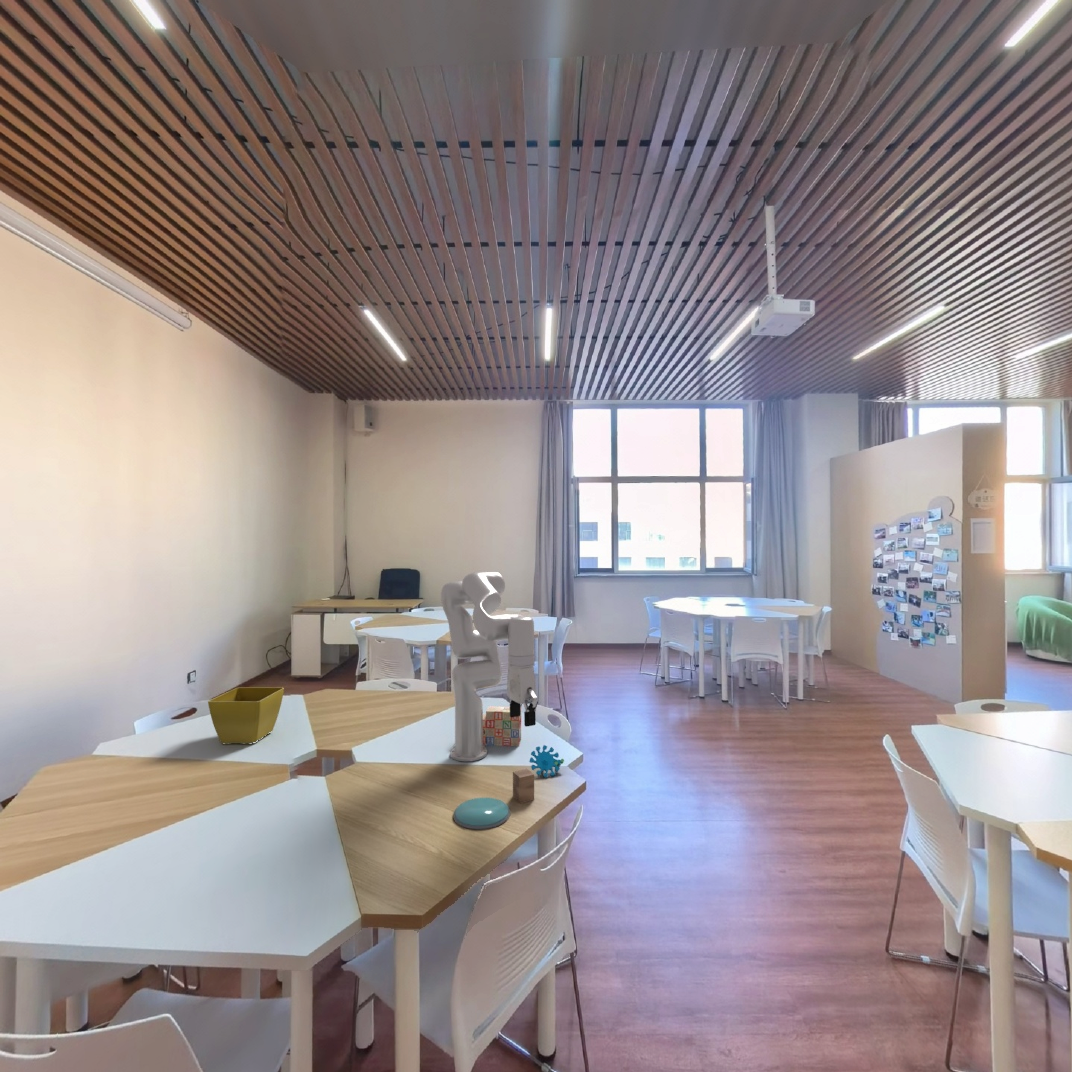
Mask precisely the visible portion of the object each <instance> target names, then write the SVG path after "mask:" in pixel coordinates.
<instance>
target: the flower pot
mask: <svg viewBox="0 0 1072 1072" xmlns="http://www.w3.org/2000/svg"><path fill="white" fill-rule="evenodd" d="M284 690H285V688H284V687H278V686H277V687H270V686H269V687H266V686H264V687H263V686H262V687H261V686H257V687H256V686H253V687H252V686H249V687H247V686H246V687H245V686H244V687H243V686H241V687H239V686H238V687H236V688H234V689H231V690H229V691H227V692H224V693H222V694H220V695H218V696H216V697H214V698H212V699H210V700H207V703H208V709H209V714H210V717H211V718H210V719H211V721H212V724H213V727H214V729H215V732H216V735H217V737H218V739H219V741H220V743H221V744H222V743H253V742H256V741H257V740H259V739H261V738H262V737H264V736H265V735H267V734H268V733H269V732H271V731H272V732H273V731H274V728H275V726H276V724H277V719H278V717H279V713H280V709H281V707H282V702H283V697H284V692H285V691H284ZM267 736H268V735H267ZM264 738H265V737H264Z"/></svg>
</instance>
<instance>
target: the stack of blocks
mask: <svg viewBox="0 0 1072 1072" xmlns="http://www.w3.org/2000/svg"><path fill="white" fill-rule="evenodd" d="M521 741H522V707H520V716H517V717H510V706H489V705H488V707H487V709H486V712H485V713H483V746H503V747H504V746H506V747H509V746H510V747H520V744H521Z"/></svg>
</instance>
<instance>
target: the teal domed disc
mask: <svg viewBox="0 0 1072 1072" xmlns="http://www.w3.org/2000/svg"><path fill="white" fill-rule="evenodd" d="M510 816H511V809H510V806H508V804H506V802H504V800H503V801H502V800H501V799H497V798H493V797H475V798H471V799H468V800H465V801H464V802H462V803H460V804H459V805H458V806H456V808H455V809H454V810H453V820H454V822H455V823H456V824H457V825H458V826H460V827H462V828H465V829H468V830H475V831H476V830H482V831H483V830H490V829H494V828H497V827H499V826H501V825H503V824H504V823H506V822H507V821H508V820H509V818H510Z"/></svg>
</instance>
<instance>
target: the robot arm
mask: <svg viewBox="0 0 1072 1072" xmlns="http://www.w3.org/2000/svg"><path fill="white" fill-rule="evenodd" d="M503 577H504V576H503V575H501V574H500V573H499V572H498V571H497V572H496V571H479V572H478V571H477V572H471V573H468V574H466V575H465V576H464V577H463V579H462V580H454V581H450V582H446V583H445V584H444V585H443V586H442V588H441V591H440V601H441V602H440V603H441V607H442V609H443V612H444V615H445V617H446V619H447V623H448V629H449V636H450V637H449V638H450V642H451V648H452V649H451V650H452V652H453V655H454V657H456V659H461V660H463V659H473V658H474V659H475V658H482V660H472V661H466V662H460V663H459V664H457V665H456V666H455V667H453V669H452V671H451V679H452V680H451V681H452V685H453V693H454V748H452V750H450V753H449V754H450V758H451V759H453V760H456V761H458V762H475V761H478V760H482V759H484V758H485V757H486V756H487V755H488V750H487V748H486V747H485V746H484V745H483V714H484V712H483V710H484V707H483V706H484V705H483V700H482V698H481V697H480V696H479V694H478V693H477V690H481V689H487V688H492V687H496V686H498V685H500V683H501V682H502V680H503V679H502V678H503V672H502V666H501V665H502V664H501V659H500V658H501V657H500V652H499V648H498V643H497V642H498V641H505V640H507V648H508V650H507V652H508V653H507V657H508V662H507V663H508V668H507V680H506V684H507V685H506V695H507V698H508V701H509V702H508V703H509V707H510V717H517V716H520V708H521V705H522V704H523V706H524V710H525V711H524V712H523V714H524V717H523V718H524V721H523V722H524V727H532V726H535V725H536V723H537V721H536V718H537V717H536V712H537V706H538V704H537V703H538V700H539V698H538V696H537V694H536V692H537V690H536V677H535V670H534V669H535V668H534V667H535V665H536V664H535V658H536V656H535V622H534V619H533V618H532V617H530V616H523V615H522V614H520V613H511V614H505V613H504V614H493V613H495V611H497V609H499V607H500V606H501V602H502V597H501V596H502V595H503V594H504V592H505V588H506V583H505V579H504V578H503ZM463 605H473V606H474V608H473V611H472V615H471V614H470V612H469V611H467V609H466V608H465V607H463ZM491 614H493V615H491Z"/></svg>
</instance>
